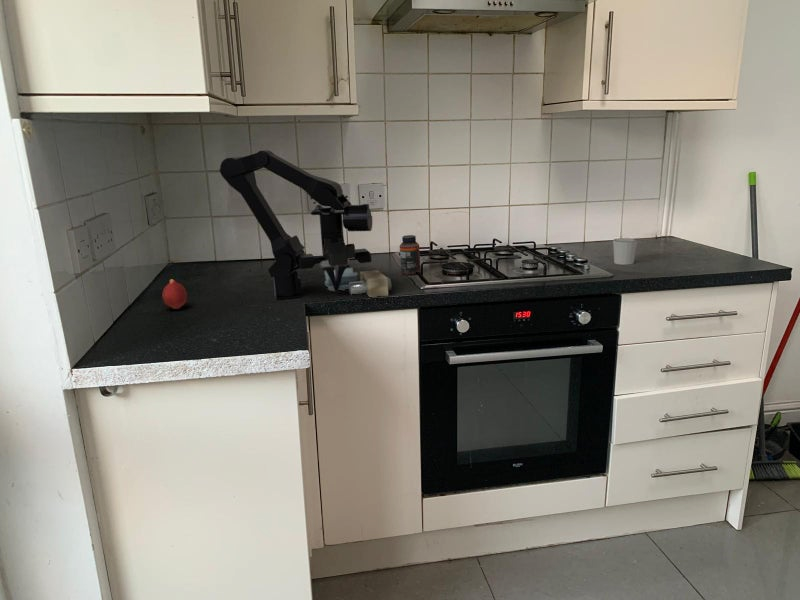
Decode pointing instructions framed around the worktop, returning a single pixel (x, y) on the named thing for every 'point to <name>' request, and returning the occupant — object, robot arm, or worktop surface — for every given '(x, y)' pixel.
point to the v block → (346, 278)
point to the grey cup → (624, 250)
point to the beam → (375, 283)
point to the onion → (174, 295)
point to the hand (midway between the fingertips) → (336, 290)
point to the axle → (362, 287)
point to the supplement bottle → (409, 255)
